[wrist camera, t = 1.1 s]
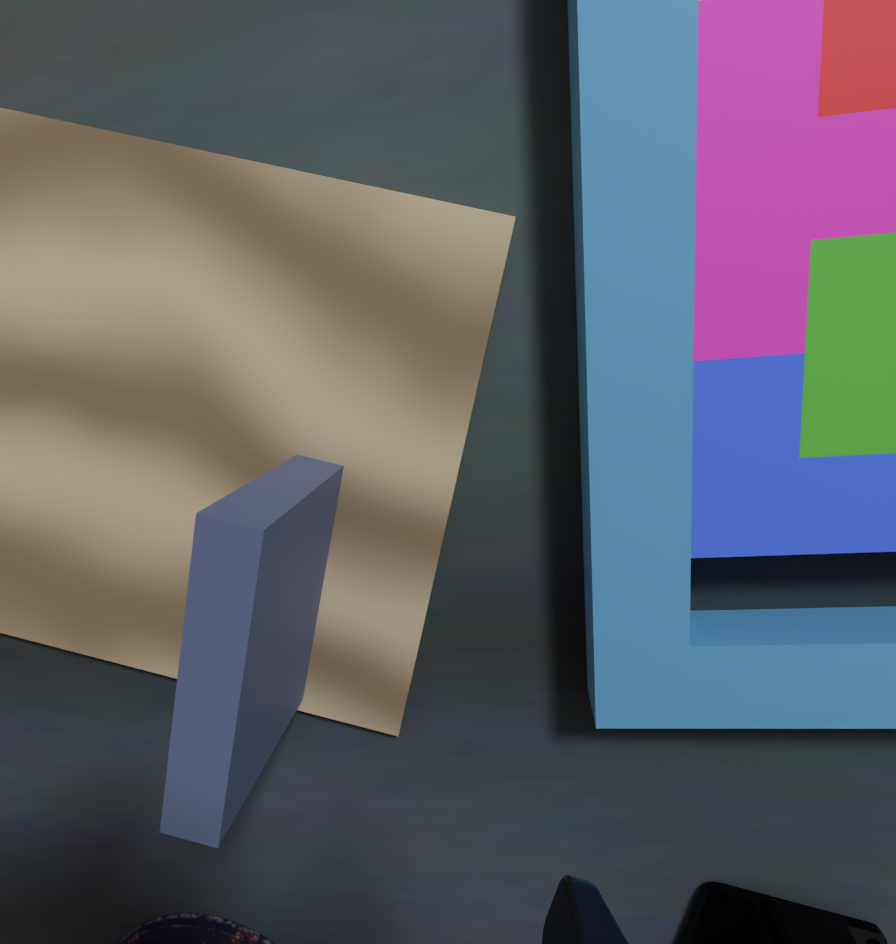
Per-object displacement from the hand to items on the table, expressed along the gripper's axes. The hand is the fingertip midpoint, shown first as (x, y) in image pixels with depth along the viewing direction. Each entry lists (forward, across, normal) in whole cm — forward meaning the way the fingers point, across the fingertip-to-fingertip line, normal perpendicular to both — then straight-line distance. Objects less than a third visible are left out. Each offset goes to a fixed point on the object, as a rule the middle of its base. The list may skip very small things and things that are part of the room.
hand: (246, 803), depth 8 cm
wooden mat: (+12, +7, -1) cm, 14 cm away
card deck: (+12, +3, +3) cm, 13 cm away
